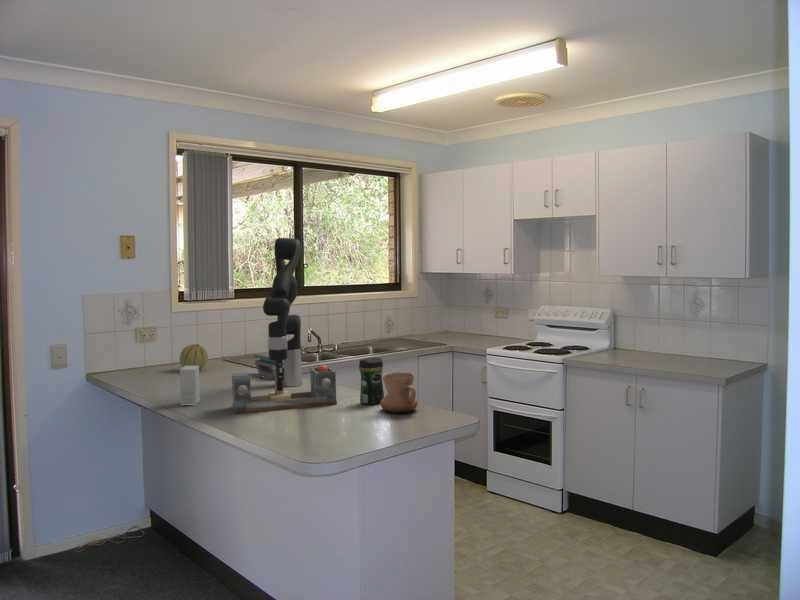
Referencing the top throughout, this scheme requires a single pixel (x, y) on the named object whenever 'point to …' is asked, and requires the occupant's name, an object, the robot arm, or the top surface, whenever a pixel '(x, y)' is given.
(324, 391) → the rail track
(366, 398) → the coffee jar
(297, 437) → the top surface
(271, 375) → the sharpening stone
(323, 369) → the button
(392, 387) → the ceramic jug
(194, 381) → the skincare box
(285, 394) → the carriage
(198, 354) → the cantaloupe
